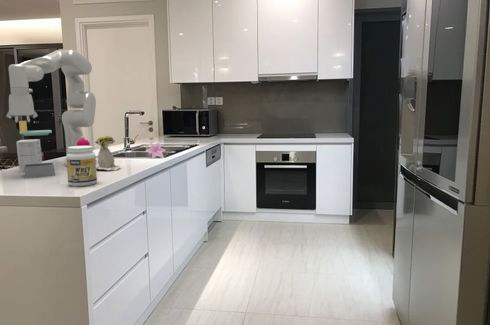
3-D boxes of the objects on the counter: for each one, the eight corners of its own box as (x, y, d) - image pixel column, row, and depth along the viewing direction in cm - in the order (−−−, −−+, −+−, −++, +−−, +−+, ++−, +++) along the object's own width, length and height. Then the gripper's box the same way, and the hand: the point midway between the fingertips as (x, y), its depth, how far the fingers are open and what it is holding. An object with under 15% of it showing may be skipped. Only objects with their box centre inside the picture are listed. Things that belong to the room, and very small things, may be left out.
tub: (54, 173, 205) (53, 162, 204) (55, 176, 197) (54, 164, 196) (25, 176, 199) (24, 164, 198) (25, 179, 191) (23, 167, 190)
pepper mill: (77, 175, 200) (74, 135, 197) (92, 174, 203) (90, 135, 200) (77, 178, 194) (74, 137, 190) (93, 176, 196) (90, 136, 193)
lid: (51, 133, 200) (50, 119, 199) (51, 134, 192) (50, 120, 191) (20, 134, 194) (19, 120, 193) (20, 136, 186) (18, 121, 185)
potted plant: (108, 172, 209) (105, 137, 206) (90, 170, 215) (88, 136, 212) (124, 168, 219) (122, 135, 216) (107, 166, 225) (105, 134, 222)
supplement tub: (68, 188, 172) (65, 149, 170) (68, 182, 183) (65, 145, 181) (98, 185, 177) (95, 147, 174) (96, 180, 188) (94, 144, 185)
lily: (143, 159, 257) (145, 147, 252) (148, 150, 267) (150, 138, 262) (161, 165, 258) (163, 153, 253) (166, 155, 268) (168, 144, 263)
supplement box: (43, 169, 218) (40, 139, 215) (39, 172, 209) (36, 140, 206) (24, 170, 215) (21, 139, 213) (18, 173, 206) (15, 141, 204)
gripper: (39, 91, 194) (42, 129, 197) (0, 91, 187) (4, 130, 190) (39, 91, 188) (42, 130, 191) (-1, 91, 181) (3, 131, 183)
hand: (23, 130), depth 190 cm, fingers closed on lid, 3 cm apart
